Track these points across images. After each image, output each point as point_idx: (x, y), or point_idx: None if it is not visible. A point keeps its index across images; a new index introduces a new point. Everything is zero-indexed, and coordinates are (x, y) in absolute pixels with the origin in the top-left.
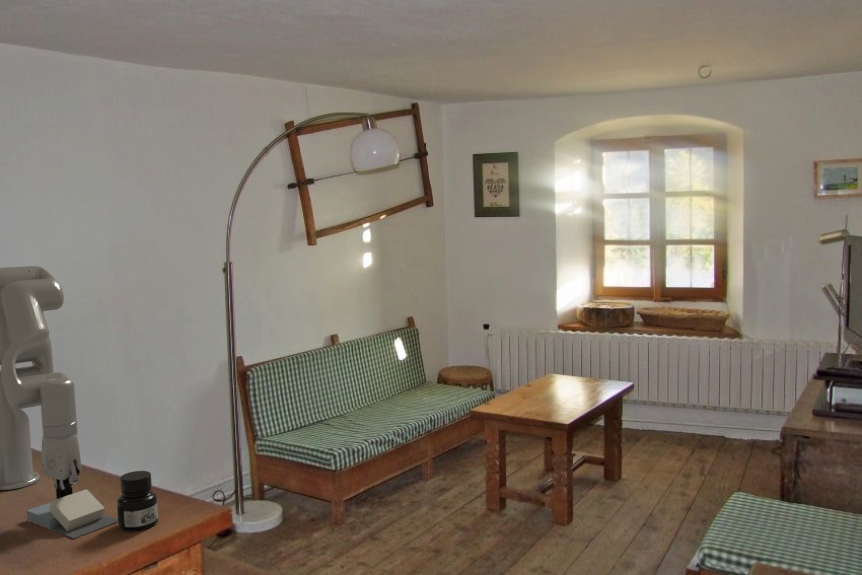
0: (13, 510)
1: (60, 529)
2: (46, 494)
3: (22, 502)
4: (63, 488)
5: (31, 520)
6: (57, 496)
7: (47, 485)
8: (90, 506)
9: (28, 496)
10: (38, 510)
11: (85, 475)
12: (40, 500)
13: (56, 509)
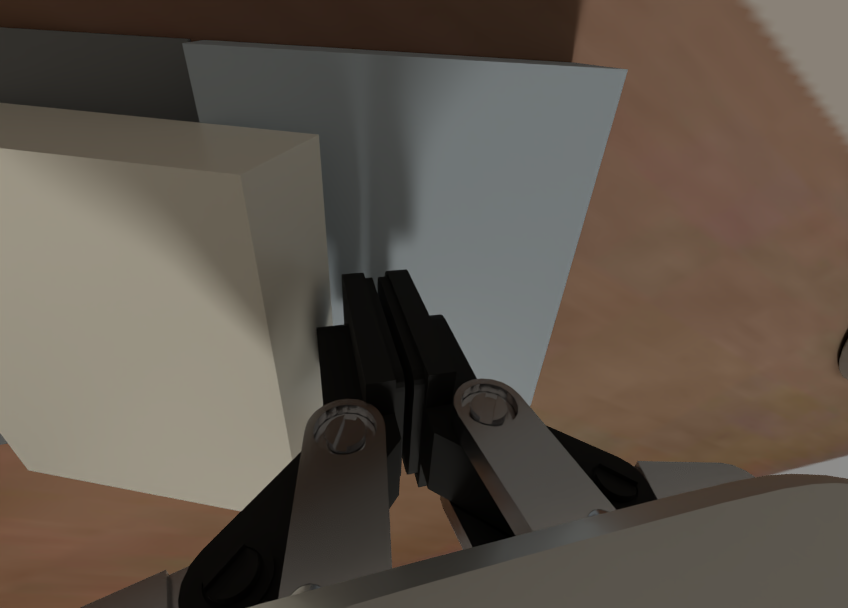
0: (779, 121)
1: (74, 83)
2: (724, 333)
3: (787, 220)
4: (306, 436)
5: (519, 59)
6: (405, 314)
7: (775, 370)
8: (53, 421)
9: (796, 274)
10: (526, 135)
11: None
12: (709, 286)
13: (105, 145)
